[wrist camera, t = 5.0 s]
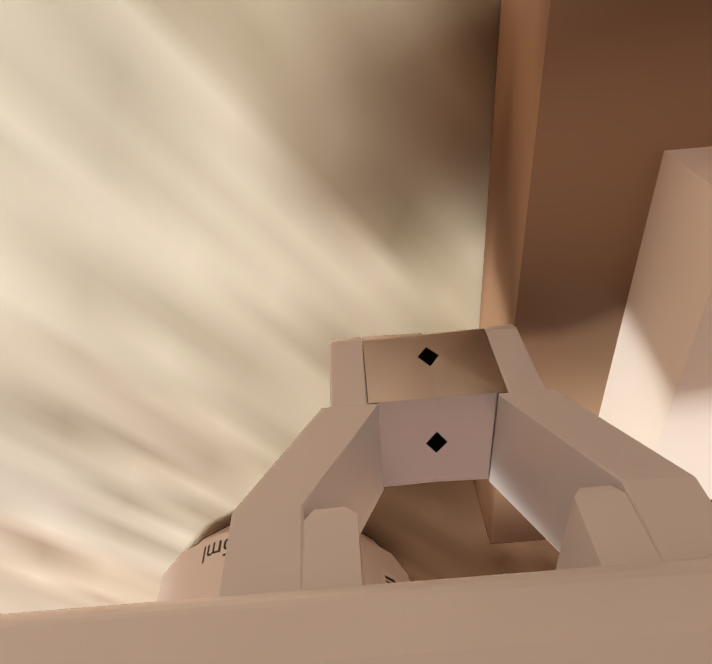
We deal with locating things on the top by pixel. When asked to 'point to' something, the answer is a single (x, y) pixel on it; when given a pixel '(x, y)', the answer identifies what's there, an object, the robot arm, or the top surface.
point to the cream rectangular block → (670, 323)
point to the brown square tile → (581, 179)
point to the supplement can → (206, 562)
